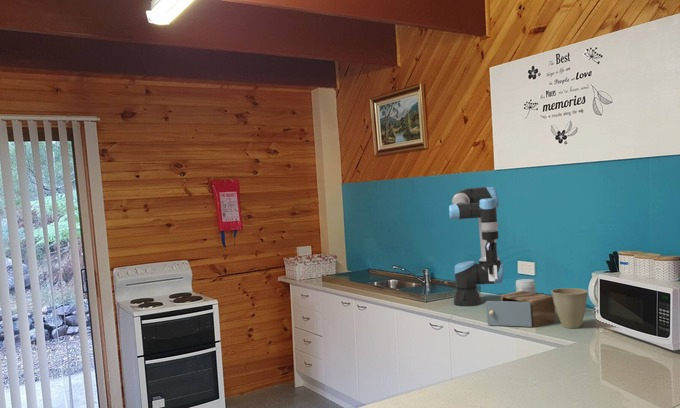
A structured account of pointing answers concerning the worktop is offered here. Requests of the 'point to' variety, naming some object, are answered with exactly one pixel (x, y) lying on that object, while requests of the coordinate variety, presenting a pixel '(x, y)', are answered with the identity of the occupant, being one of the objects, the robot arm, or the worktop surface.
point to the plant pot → (570, 306)
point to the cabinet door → (509, 313)
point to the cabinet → (535, 306)
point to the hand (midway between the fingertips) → (493, 279)
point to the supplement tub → (525, 285)
